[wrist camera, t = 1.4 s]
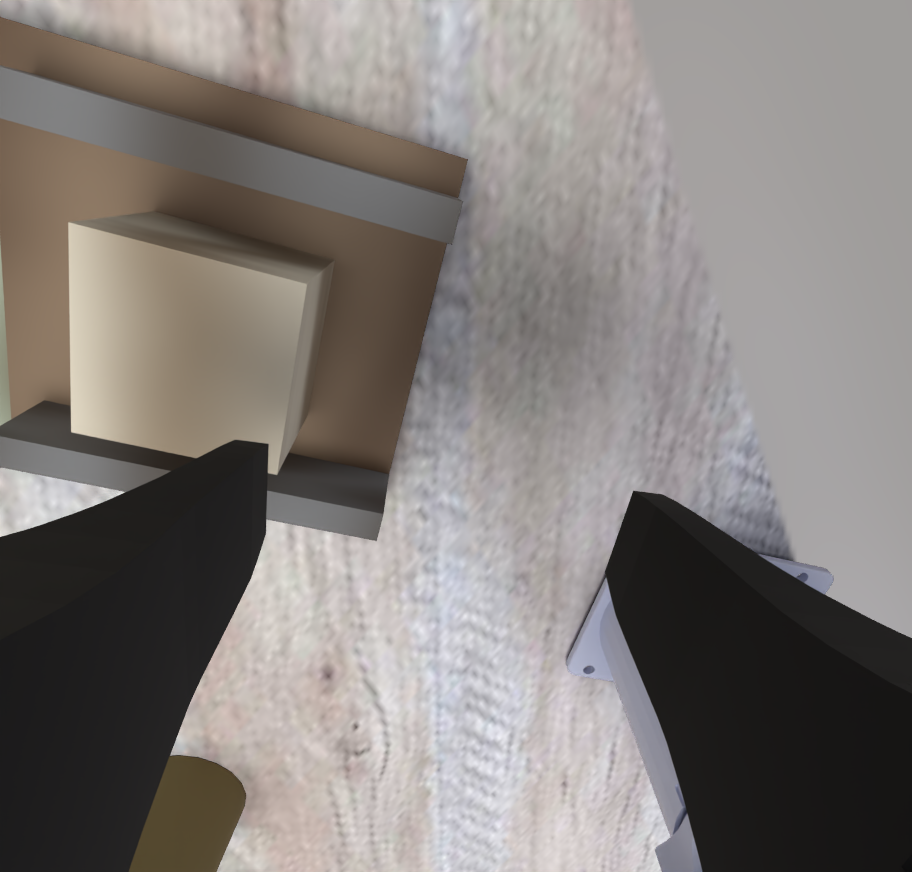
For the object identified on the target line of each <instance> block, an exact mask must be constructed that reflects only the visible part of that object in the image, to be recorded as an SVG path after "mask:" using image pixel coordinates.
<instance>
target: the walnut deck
mask: <svg viewBox="0 0 912 872" xmlns="http://www.w3.org/2000/svg"><path fill="white" fill-rule="evenodd" d="M467 161H468V159H465V158H461V157H458V156H455V155H452V154H448V153H445V152H442V151H438V150H435V149H432V148H429V147H425V146H422V145H419V144H415V143H412V142H409V141H406V140H402V139H399V138H396V137H392V136H389V135H386V134H383V133H379V132H376V131H373V130H369V129H366V128H363V127H360V126H356V125H353V124H350V123H346V122H343V121H340V120H337V119H333V118H330V117H327V116H323V115H320V114H317V113H314V112H310V111H307V110H304V109H300V108H297V107H294V106H291V105H287V104H284V103H281V102H277V101H274V100H271V99H268V98H264V97H261V96H258V95H254V94H251V93H248V92H245V91H241V90H238V89H235V88H231V87H228V86H225V85H222V84H218V83H215V82H212V81H209V80H205V79H202V78H199V77H195V76H192V75H189V74H186V73H182V72H179V71H176V70H172V69H169V68H166V67H163V66H159V65H156V64H153V63H149V62H146V61H143V60H140V59H136V58H133V57H130V56H126V55H123V54H120V53H117V52H113V51H110V50H107V49H103V48H100V47H97V46H94V45H90V44H87V43H84V42H80V41H77V40H74V39H71V38H67V37H64V36H61V35H57V34H54V33H51V32H48V31H44V30H41V29H38V28H34V27H31V26H28V25H25V24H21V23H18V22H15V21H11V20H8V19H5V18H2V17H0V467H2V468H7V469H12V470H17V471H22V472H27V473H32V474H38V475H43V476H48V477H53V478H58V479H63V480H68V481H73V482H78V483H84V484H89V485H94V486H99V487H104V488H109V489H114V490H119V491H124V492H127V491H130V490H132V489H134V488H136V487H139V486H141V485H143V484H145V483H148V482H150V481H152V480H154V479H156V478H159V477H161V476H163V475H165V474H167V473H169V472H170V471H172V470H174V469H176V468H178V467H180V466H182V465H184V464H186V463H188V462H190V461H192V460H194V459H196V458H193V457H188V456H183V455H178V454H174V453H169V452H164V451H159V450H154V449H150V448H145V447H140V446H135V445H130V444H126V443H121V442H116V441H111V440H106V439H102V438H97V437H92V436H87V435H82V434H77V433H73V432H71V385H70V313H69V240H68V222H74V221H81V220H89V219H97V218H105V217H113V216H121V215H128V214H136V213H144V212H152V211H154V212H158V213H162V214H166V215H169V216H173V217H177V218H181V219H184V220H188V221H192V222H196V223H199V224H203V225H207V226H211V227H214V228H218V229H222V230H226V231H229V232H233V233H237V234H240V235H244V236H248V237H252V238H255V239H259V240H263V241H267V242H270V243H274V244H278V245H282V246H285V247H289V248H293V249H297V250H300V251H304V252H308V253H311V254H315V255H319V256H323V257H326V258H330V259H334V260H335V262H334V268H333V273H332V279H331V285H330V291H329V296H328V302H327V308H326V313H325V319H324V325H323V331H322V336H321V342H320V348H319V354H318V359H317V365H316V371H315V377H314V382H313V388H312V394H311V400H310V405H309V411H308V416H307V418H306V420H305V421H304V423H303V425H302V427H301V429H300V431H299V433H298V435H297V437H296V439H295V441H294V443H293V445H292V447H291V449H290V451H289V453H288V455H287V456H286V458H285V460H284V462H283V464H282V466H281V468H280V470H279V472H278V474H277V475H275V474H270V473H268V481H267V511H266V519H267V520H272V521H278V522H283V523H288V524H293V525H298V526H303V527H308V528H313V529H318V530H323V531H329V532H334V533H339V534H344V535H349V536H354V537H359V538H364V539H369V540H375V541H377V537H378V533H379V529H380V525H381V521H382V517H383V513H384V506H385V499H386V492H387V484H388V477H389V472H390V468H391V464H392V460H393V456H394V452H395V448H396V444H397V440H398V436H399V432H400V428H401V424H402V420H403V416H404V412H405V408H406V404H407V400H408V396H409V392H410V388H411V384H412V380H413V376H414V372H415V368H416V364H417V360H418V356H419V352H420V348H421V344H422V340H423V336H424V332H425V328H426V324H427V320H428V316H429V312H430V308H431V304H432V300H433V296H434V292H435V288H436V284H437V280H438V276H439V272H440V268H441V264H442V260H443V256H444V252H445V248H446V244H447V243H448V244H451V245H452V242H453V238H454V234H455V230H456V227H457V223H458V219H459V215H460V211H461V207H462V203H463V202H462V201H461V200H460V199H459V198H458V196H459V192H460V188H461V185H462V181H463V177H464V173H465V169H466V165H467Z"/></svg>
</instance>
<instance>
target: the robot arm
mask: <svg viewBox="0 0 912 872" xmlns="http://www.w3.org/2000/svg"><path fill="white" fill-rule="evenodd" d="M268 451H269V444H266V443H258V442H251V441H243V440H233V441H231V442H228V443H226V444H224V445H222V446H220V447H218V448H216V449H214V450H212V451H210V452H208V453H206V454H204V455H202V456H200V457H198V458H196V459H194V460H192V461H190V462H188V463H186V464H184V465H182V466H180V467H178V468H176V469H174V470H172V471H170V472H169V473H167V474H165V475H163V476H161V477H159V478H156V479H154V480H152V481H150V482H148V483H145V484H143V485H141V486H139V487H136V488H134V489H132V490H130V491H127V492H125V493H123V494H121V495H119V496H116V497H114V498H112V499H110V500H107V501H105V502H103V503H100V504H98V505H95V506H93V507H90V508H87V509H85V510H82V511H80V512H77V513H74V514H71V515H68V516H66V517H63V518H60V519H57V520H54V521H51V522H48V523H46V524H43V525H40V526H37V527H33V528H30V529H27V530H24V531H20V532H17V533H13V534H10V535H6V536H2V537H0V872H129V869H130V866H131V863H132V860H133V857H134V854H135V851H136V848H137V846H138V843H139V840H140V837H141V834H142V831H143V828H144V825H145V823H146V820H147V817H148V814H149V811H150V809H151V806H152V803H153V800H154V798H155V795H156V792H157V789H158V786H159V784H160V781H161V778H162V775H163V773H164V770H165V767H166V764H167V762H168V759H169V756H170V754H171V751H172V748H173V746H174V743H175V741H176V738H177V735H178V733H179V730H180V727H181V725H182V722H183V719H184V717H185V714H186V711H187V709H188V706H189V704H190V702H191V700H192V697H193V695H194V693H195V691H196V688H197V686H198V684H199V682H200V680H201V678H202V676H203V674H204V672H205V670H206V668H207V666H208V664H209V662H210V660H211V658H212V656H213V654H214V652H215V650H216V648H217V646H218V644H219V642H220V640H221V638H222V636H223V634H224V632H225V630H226V628H227V626H228V624H229V622H230V620H231V618H232V616H233V614H234V612H235V610H236V608H237V606H238V604H239V602H240V600H241V598H242V596H243V594H244V592H245V590H246V587H247V585H248V583H249V581H250V579H251V577H252V574H253V571H254V568H255V565H256V562H257V559H258V556H259V553H260V550H261V547H262V544H263V541H264V538H265V535H266V511H267V481H268ZM801 573H802V574H801ZM605 574H606V578H605V580H604V582H603V584H602V587H601V589H600V591H599V593H598V595H597V597H596V599H595V601H594V603H593V606H592V608H591V610H590V612H589V614H588V616H587V618H586V620H585V623H584V625H583V627H582V629H581V631H580V633H579V635H578V637H577V640H576V642H575V644H574V646H573V648H572V650H571V652H570V654H569V656H568V659H567V661H566V665H567V669H568V672H570V673H571V674H573V675H577V676H583V677H589V678H595V679H601V680H607V681H613V682H615V685H616V688H617V691H618V693H619V696H620V699H621V702H622V704H623V707H624V710H625V713H626V715H627V718H628V721H629V724H630V726H631V729H632V732H633V735H634V737H635V740H636V743H637V746H638V748H639V751H640V754H641V757H642V759H643V762H644V765H645V768H646V770H647V773H648V776H649V779H650V782H651V784H652V787H653V790H654V793H655V795H656V798H657V801H658V804H659V806H660V809H661V812H662V815H663V817H664V820H665V823H666V826H667V828H668V831H669V834H670V837H671V838H669V839H668V840H667V841H666V842H664V843H662V844H661V845H659V846H657V847H656V849H655V852H656V855H657V858H658V861H659V864H660V867H661V870H662V872H912V638H910V637H908V636H906V635H903V634H901V633H898V632H896V631H895V630H893V629H891V628H889V627H886V626H884V625H882V624H880V623H878V622H876V621H874V620H872V619H870V618H868V617H866V616H864V615H862V614H861V613H859V612H857V611H855V610H853V609H851V608H849V607H847V606H845V605H843V604H841V603H839V602H838V601H836V600H834V599H832V598H830V597H828V596H826V595H825V593H826V592H827V590H828V589H829V588H830V586H831V584H832V583H833V580H834V578H833V576H832V574H831V573H830V572H829V571H828V570H827V569H824V568H822V567H817V566H812V565H807V564H803V563H798V562H794V561H789V560H784V559H780V558H775V557H770V556H766V555H761V554H756V553H755V552H753V551H752V550H750V549H749V548H747V547H746V546H744V545H743V544H741V543H740V542H738V541H737V540H735V539H734V538H732V537H731V536H729V535H728V534H726V533H724V532H723V531H721V530H720V529H718V528H717V527H715V526H714V525H712V524H711V523H709V522H708V521H706V520H705V519H703V518H702V517H700V516H699V515H697V514H696V513H694V512H692V511H691V510H689V509H688V508H686V507H684V506H683V505H681V504H679V503H678V502H676V501H674V500H672V499H670V498H668V497H666V496H664V495H662V494H654V493H646V492H639V491H633V493H632V496H631V499H630V502H629V505H628V508H627V511H626V513H625V516H624V519H623V522H622V525H621V528H620V531H619V533H618V536H617V539H616V542H615V545H614V548H613V551H612V554H611V556H610V559H609V562H608V565H607V568H606V571H605ZM799 574H801V575H799ZM798 575H799V576H798ZM586 666H589V667H586Z"/></svg>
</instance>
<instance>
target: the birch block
mask: <svg viewBox="0 0 912 872" xmlns="http://www.w3.org/2000/svg"><path fill="white" fill-rule="evenodd" d="M68 240H69V313H70V385H71V432H73V433H77V434H82V435H87V436H92V437H97V438H102V439H106V440H111V441H116V442H121V443H126V444H130V445H135V446H140V447H145V448H150V449H154V450H159V451H164V452H169V453H174V454H178V455H183V456H188V457H193V458H198V457H200V456H202V455H204V454H206V453H208V452H210V451H212V450H214V449H216V448H218V447H220V446H222V445H224V444H226V443H228V442H231V441H233V440H243V441H251V442H258V443H266V444H269V451H268V473H270V474H275V475H277V474H278V472H279V470H280V468H281V466H282V464H283V462H284V460H285V458H286V456H287V455H288V453H289V451H290V449H291V447H292V445H293V443H294V441H295V439H296V437H297V435H298V433H299V431H300V429H301V427H302V425H303V423H304V421H305V420H306V418H307V416H308V411H309V405H310V400H311V394H312V388H313V382H314V377H315V371H316V365H317V359H318V354H319V348H320V342H321V336H322V331H323V325H324V319H325V313H326V308H327V302H328V296H329V291H330V285H331V279H332V273H333V268H334V262H335V260H334V259H330V258H326V257H323V256H319V255H315V254H311V253H308V252H304V251H300V250H297V249H293V248H289V247H285V246H282V245H278V244H274V243H270V242H267V241H263V240H259V239H255V238H252V237H248V236H244V235H240V234H237V233H233V232H229V231H226V230H222V229H218V228H214V227H211V226H207V225H203V224H199V223H196V222H192V221H188V220H184V219H181V218H177V217H173V216H169V215H166V214H162V213H158V212H154V211H152V212H144V213H136V214H128V215H121V216H113V217H105V218H97V219H89V220H81V221H74V222H68Z"/></svg>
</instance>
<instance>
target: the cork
mask: <svg viewBox="0 0 912 872" xmlns="http://www.w3.org/2000/svg"><path fill="white" fill-rule="evenodd" d="M245 799H246V793H245V791H244V788H243V786H242V783H241V782H240V781H239V780H238V779H237V778H236V777H235V776H234V775H233V774H232V772H230V771H228V770H227V769H225V768H223V767H221V766H220V765H218V764H216V763H213V762H210V761H207V760H204V759H201V758H197V757H188V756H169V759H168V762H167V764H166V767H165V770H164V773H163V775H162V778H161V781H160V784H159V786H158V789H157V792H156V795H155V798H154V800H153V803H152V806H151V809H150V811H149V814H148V817H147V820H146V823H145V825H144V828H143V831H142V834H141V837H140V840H139V843H138V846H137V848H136V851H135V854H134V857H133V860H132V863H131V866H130V869H129V872H216V871H217V869H218V867H219V864H220V862H221V860H222V858H223V855H224V853H225V851H226V848H227V846H228V844H229V841H230V839H231V837H232V834H233V832H234V830H235V827H236V825H237V823H238V820H239V818H240V816H241V814H242V811H243V809H244V807H245Z"/></svg>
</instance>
